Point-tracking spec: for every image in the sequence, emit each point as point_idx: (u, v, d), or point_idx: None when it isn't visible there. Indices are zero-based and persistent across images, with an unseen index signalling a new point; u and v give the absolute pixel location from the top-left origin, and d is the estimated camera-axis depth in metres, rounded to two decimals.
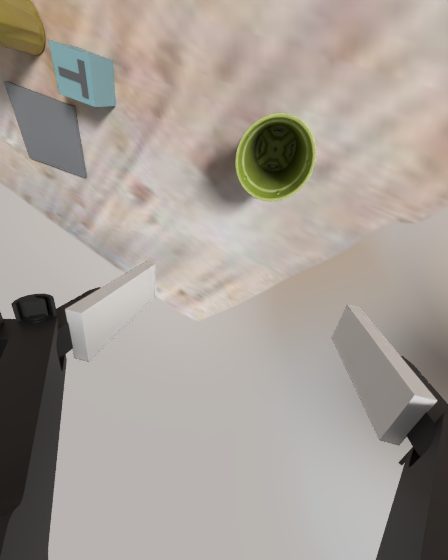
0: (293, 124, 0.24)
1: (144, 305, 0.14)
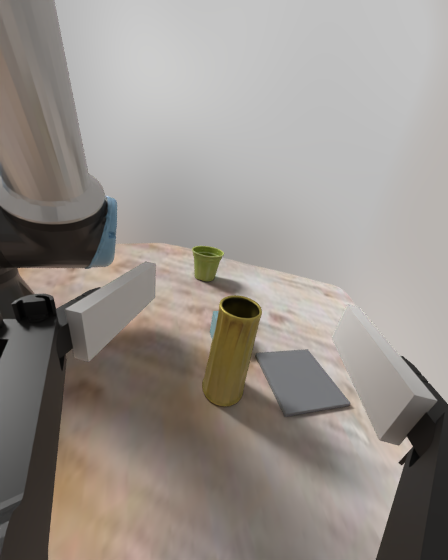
0: None
1: (144, 305, 0.14)
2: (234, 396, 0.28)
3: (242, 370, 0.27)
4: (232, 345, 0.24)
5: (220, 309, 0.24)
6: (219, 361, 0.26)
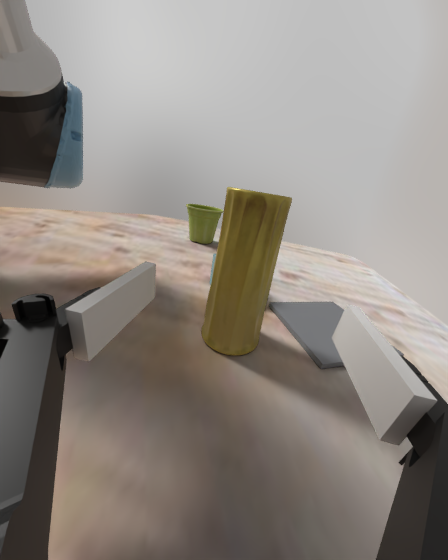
0: None
1: (144, 305, 0.14)
2: (248, 340, 0.20)
3: (261, 296, 0.18)
4: (247, 248, 0.16)
5: (229, 191, 0.16)
6: (227, 281, 0.17)
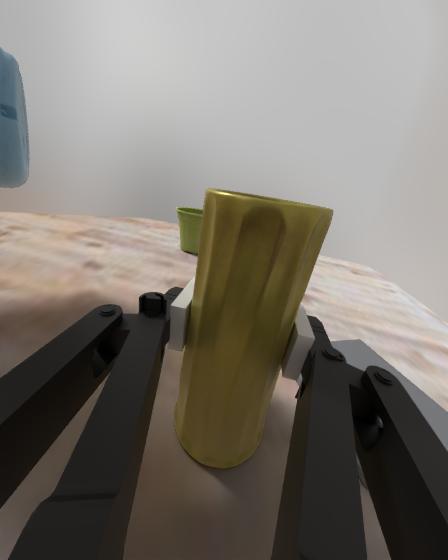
0: None
1: None
2: (247, 443, 0.12)
3: (269, 382, 0.10)
4: (245, 310, 0.08)
5: (208, 196, 0.08)
6: (208, 359, 0.09)
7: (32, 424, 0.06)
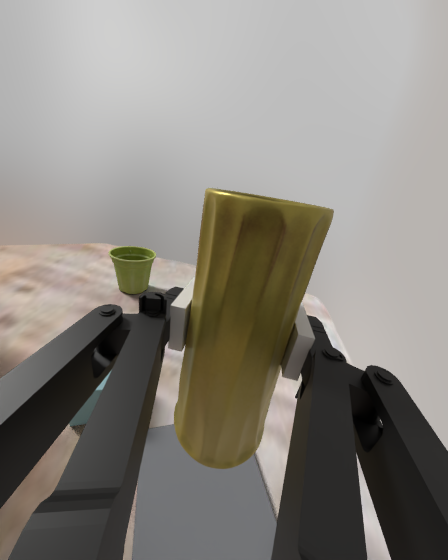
0: None
1: None
2: (247, 444, 0.12)
3: (269, 382, 0.10)
4: (245, 310, 0.08)
5: (207, 196, 0.08)
6: (208, 360, 0.09)
7: (32, 424, 0.06)
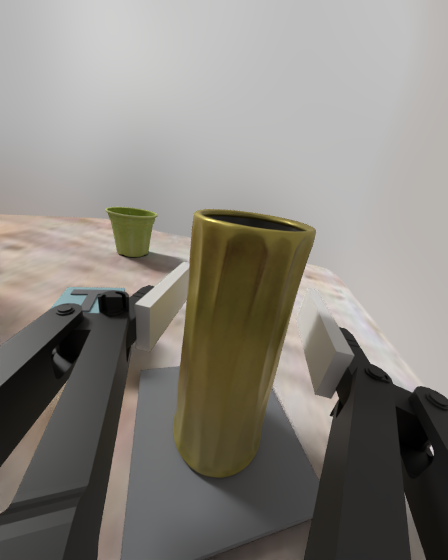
0: None
1: (183, 302, 0.15)
2: (243, 452, 0.12)
3: (262, 393, 0.10)
4: (234, 327, 0.08)
5: (195, 220, 0.08)
6: (201, 373, 0.10)
7: None
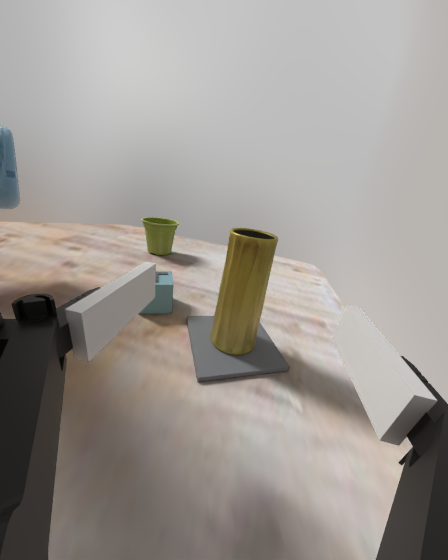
0: None
1: (144, 305, 0.14)
2: (247, 343, 0.25)
3: (256, 309, 0.24)
4: (245, 275, 0.22)
5: (231, 234, 0.21)
6: (230, 298, 0.23)
7: None
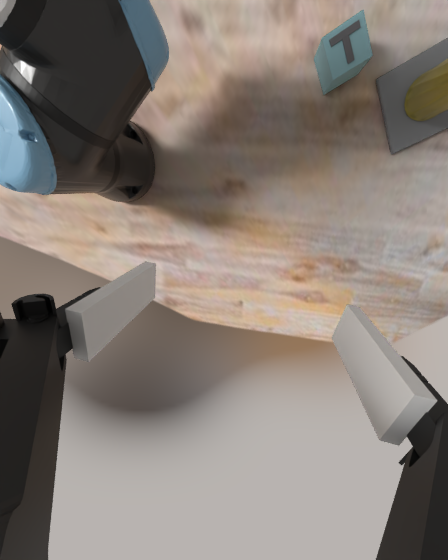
0: None
1: (144, 305, 0.14)
2: None
3: None
4: None
5: None
6: None
7: None
